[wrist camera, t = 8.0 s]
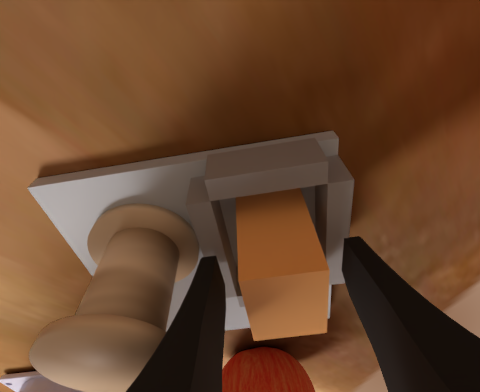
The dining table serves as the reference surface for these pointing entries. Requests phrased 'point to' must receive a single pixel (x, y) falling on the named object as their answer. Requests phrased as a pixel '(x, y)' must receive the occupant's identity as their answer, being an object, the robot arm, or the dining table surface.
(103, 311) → the knob
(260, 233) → the block
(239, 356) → the apple
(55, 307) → the dining table surface
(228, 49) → the dining table surface
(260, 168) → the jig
